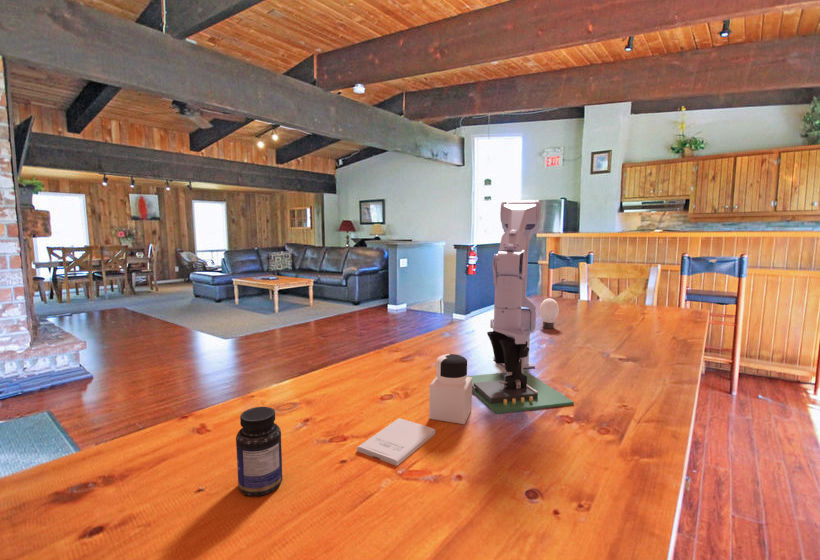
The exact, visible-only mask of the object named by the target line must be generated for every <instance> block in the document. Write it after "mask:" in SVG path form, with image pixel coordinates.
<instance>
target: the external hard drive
mask: <svg viewBox="0 0 820 560" xmlns="http://www.w3.org/2000/svg"><path fill="white" fill-rule="evenodd" d="M435 435H436V429H435V428H433V427H430V426H427V425H423V424H420V423H417V422H413V421H412V420H411V421H410V420H407V419H404V418H397V419H396V420H394V421H393V422H391V423H390V424H389V425H387V426H386V427H384V428H383V429H381V430H380V431H378V432H377V433H375V434H374V435H373V436H371V437H369V438H368V439H367V440H365V441H364V442H362V443H361V444H360V445H358V446H357V448H356V452H358V453H360V454H364V455H365V456H369V457H372V458H377V459H379V460H380V461H382V462H385V463H388V464H391V465H393V466H395V467H398V466H399V465H400V464H402V463H403V462H404V461H405V460H406V459H408V458H409V457H410V456H411V455H412V454H413V453H415V452H416V451H417V450H418V449H419V448H420V447H422V446H423V445H424V444H426V443H427V442H428V440H430V439H431V438H433V437H434V436H435Z"/></svg>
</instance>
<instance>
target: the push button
mask: <svg viewBox="0 0 820 560" xmlns="http://www.w3.org/2000/svg"><path fill="white" fill-rule="evenodd" d="M528 352H529V353H530V347H529V348H528V347H526V348H525V349H524V351H523V353H522V355H521V357H520V360H519V363H518V366H517V370H516V372H508V373H507V375H505V376H504V381H502V382H503V383H504V385H501V386H502V387H506V388H508V389H514V388H517V389H519V388H521V387H523V388H525V387H526V386H527V376H525V375H524V374H523V373H524V371H525V370H524V368H523V366H524V357H527V356H528ZM499 383H501V382H499ZM501 384H502V383H501ZM501 386H499V387H501Z"/></svg>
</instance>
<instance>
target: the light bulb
mask: <svg viewBox="0 0 820 560" xmlns="http://www.w3.org/2000/svg"><path fill="white" fill-rule="evenodd" d="M559 307H560V306H559V304H558V302H557V301H556V300H555V299H554V298H551V297H549V298H546V299H544V300H542V302H541V303H540V307H539V314H540V317H541V318H542V319H543V320H542V328H543V329H554V328H555V319H557V317H559V313H560V308H559Z"/></svg>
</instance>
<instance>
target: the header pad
mask: <svg viewBox="0 0 820 560" xmlns="http://www.w3.org/2000/svg"><path fill="white" fill-rule="evenodd" d="M502 381H504V380H498V381H488V382H478V383H474V386H475V387H477V391H478V392H479V393H480V394H481V395H482V396H483V397H484V398H485V399H486V400H487V401H489V402H490V403H491V404H493V403H502V402H504V399H507V402H511V401H512V399H513V398H515V399H516V401H520V400H521V397H524V400H529V397H530V396H532V397H533V399H538V392H537V391H536V390H535V389H533V388H532V387H530V386H529V385H527V386H526V387H525V388H523V387H521V388H519V389H517V388H514V389H508V388H506V387H502V386H501V385H504V383H503V382H502ZM499 382H501V383H502V384H501V383H499ZM499 386H501V387H499Z"/></svg>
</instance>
